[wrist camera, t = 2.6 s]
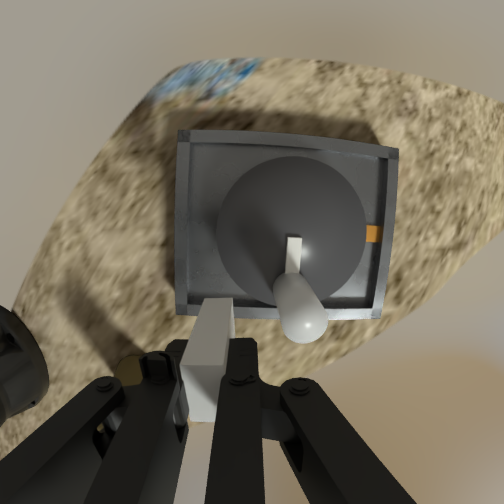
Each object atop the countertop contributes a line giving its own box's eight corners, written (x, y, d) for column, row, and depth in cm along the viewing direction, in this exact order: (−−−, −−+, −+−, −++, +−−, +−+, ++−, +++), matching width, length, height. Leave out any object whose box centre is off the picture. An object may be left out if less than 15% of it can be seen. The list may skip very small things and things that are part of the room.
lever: (222, 156, 23) (209, 138, 14) (357, 166, 23) (412, 159, 15) (218, 291, 25) (205, 343, 17) (345, 294, 26) (387, 342, 17)
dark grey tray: (182, 301, 28) (175, 314, 25) (185, 136, 25) (178, 129, 22) (368, 306, 28) (380, 318, 25) (384, 151, 25) (398, 148, 22)
